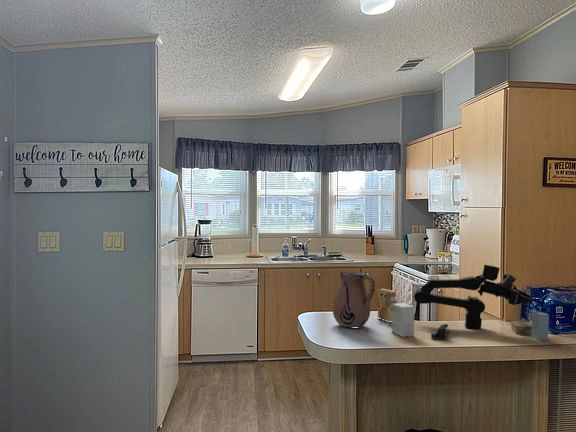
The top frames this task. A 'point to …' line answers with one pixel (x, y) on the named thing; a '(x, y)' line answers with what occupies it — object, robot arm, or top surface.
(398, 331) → the small box
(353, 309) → the ceramic pitcher
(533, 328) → the pillar
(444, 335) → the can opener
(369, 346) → the top surface
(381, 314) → the candy box
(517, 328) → the base block
